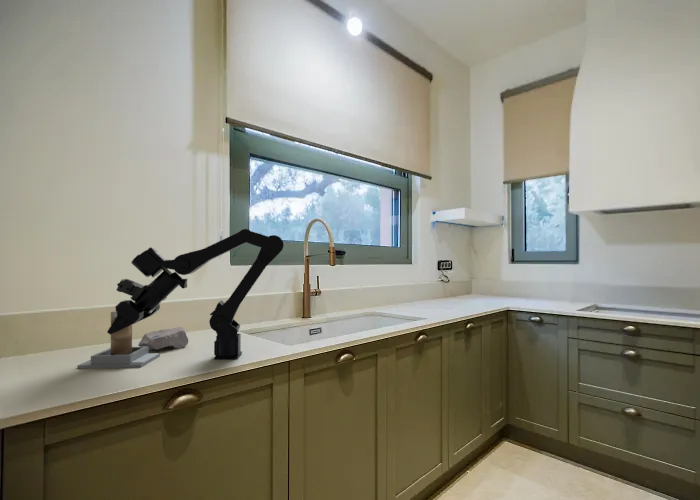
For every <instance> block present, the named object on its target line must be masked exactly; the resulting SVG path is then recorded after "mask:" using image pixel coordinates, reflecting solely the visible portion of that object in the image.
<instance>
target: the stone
mask: <svg viewBox="0 0 700 500" xmlns="http://www.w3.org/2000/svg"><path fill="white" fill-rule="evenodd" d="M188 344H189V338H188V336H187V333H186V331H185V329H184V327H183V326H177V327H174V328H164V329H159V330H153V331H150V332H147V333H145V334H144V335H143V336H142V337H141V340H140V341H139V342H138V344H137V347H146V346H149V351H153V350H161V349H163V348H166V347H168V348H174V349H182V348H185V347H187V345H188Z"/></svg>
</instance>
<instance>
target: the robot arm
mask: <svg viewBox="0 0 700 500" xmlns="http://www.w3.org/2000/svg"><path fill="white" fill-rule="evenodd" d="M245 244H249V245H252V246H255V247H259V248H260V250H259V253H258V255H257V256H256V259H255V260H254V262H253V264H252V265H251V266H250V268H249V269H248V270H247V272H246V273H245V275H244V276H243V278H242V279H241V281H240V282H239V283H238V285H237V287H236V288H235V289H234V291H233V292H232V293H231V295H230V296H229V298H228V299H227V300H226V301H223V300H220V301H219V302H217V304H216V306H215V308H214V310H213V311H212V312H210V314H209V316H210V319H209V321H208V322H209V327H210V329H211V330H213V331H215V333H216V336H215V340H214V341H213V343H214V348H213V349H214V350H213V351H214V353H213V355H214V357H213V359H214V360H228V359H229V360H231V359H232V360H233V359H239V357H240V356H241V355H242V353H243V351H241V350H242V349H241V347H242V346H241V342H242V341H241V339H242V338H241V336H242V335H241V333H238V332H239V330H240V329H241V324H240V323H238V322H237V320H235V317H236V315H237V313H238V310H239V308H240V306H241V304H242V302H243V300H244V299H245V298H246V296H247V295H248V293H249V292H250V291H251V290H252V288H253V286H254V285H255V284H256V282H257V280H258V279H259V278H260V276H261V275H262V274H263V271H264V270H265V268H267V266H268V265H269V264H270V263H271V262H272V261H273V260H274V259H275V258H277V256H278V255H279V254H280V253H281V252H282V251H283V249H284V241H283V239H282V237H280V236H278V235H276V234H275V235H274V234H272V235H269V236H267V235H265V234H262V233H259V232H255V231H253V230H250V229H247V228H243V229H241V230H239V231H238V232H236V233H234V234H232V235H230V236H227V237H225V238H223V239H222V240H221V239H220V240H219V241H216V242H215V243H213V244H211V245H208V246H206V247H204V248H201V249H198V250H195V251H194V250H193V251H189V252H187V253H186V252H185V253H183V254H180V255H177V256H175V258H174V259H165V258H164V257H162V255H161V254H159V253H158V251H157V250H156V249H155V247H152V246H150V247H149V248H148V249H145V250H144V251H143V252H141V253H139V254H137V255H136V256H135V257H134V258H133V259H132V261H131V264H132V265H133V266H134V268H136V269H137V270H138V271H139V272H140V273H141V274H142V275H144V277H146V278H149V277H151V278H154V279H153V280H152V281H151V282H150V283H149V284H144V285H143V284H141V283H139V282H137V281H133V280H131V279H128V278H123V279H121V280H120V282H118V283H117V284H116V285H117V288H116V291H117V292H119V293H123V294H126V295H128V296H131V297H130V299H125V300H122V301H120V302H119V303H118V304H116V305H115V307H114V308H115V311H116V312H117V317H116V319H115V320H114V322H113V323H112V325H111V324H110V326H109V328H108V329H107V332H106V333H107V334H109V335H111V334H113V333H115V332H117V331H119V330H121V329H124V328H126V327H128V326H130V325H132V326H133V325H134V324H136V323H139V322H140V321H142V320H145V319H147V318H149V317H151V316H153V315H154V314H156V313H158V311H159V310H160V309H161V303H162V302H164V301H165V300H167V298H168V296H169V295H170V294H172V292H174V290H175V289H177V287H180V288H181V289H186V288H188V278H182V277H181V276H187V275H191V274H193V273H195V272H197V271H198V270H199V269H201V268H202V267H203V266H205V265H206V264H207V263H209V262H210V261H211V260H214V259H216V258H218V257H220V256H223V255H225V254H226V253H228V252H231V251H232V250H235V249H237V248H239V247H241V246H243V245H245ZM171 270H173V271H174V272H172V271H171ZM180 275H181V276H180ZM155 277H156V278H155Z"/></svg>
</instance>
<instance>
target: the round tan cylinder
mask: <svg viewBox="0 0 700 500" xmlns="http://www.w3.org/2000/svg"><path fill="white" fill-rule="evenodd" d="M116 317H117V312H116V310H114V311H113V310H112V311H111V312H110V326H111V325H112V323H113V322H114V320H115V319H116ZM132 347H133V324H132V325H130V326H128V327H126V328H124V329H121V330H119V331H117V332H115V333H113V334H110V348H111V355H129V354H131V353H132Z"/></svg>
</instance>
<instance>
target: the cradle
mask: <svg viewBox="0 0 700 500" xmlns="http://www.w3.org/2000/svg"><path fill="white" fill-rule="evenodd" d="M149 351H150V350H149V346H146V347H140V346H132V353H131V354H129V355H111V347H110V348H107V349H105V350H102V351H100V352H97V353H95V354H93V355H91V356H90V359H89V360H87V361H85V362H82V363H80V364H77V366H76V369H77V370H78V369H118V368H119V369H121V368H122V369H124V368H127V369H128V368H129V369H130V368H132V369H133V367H134V368H143V367H145V366H146V365H148V364H149V363H151V362H153V361H154V360H157V359H158V358H159V357H161V353H157V352H156V353H154V352H153V353H150V352H149Z"/></svg>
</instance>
